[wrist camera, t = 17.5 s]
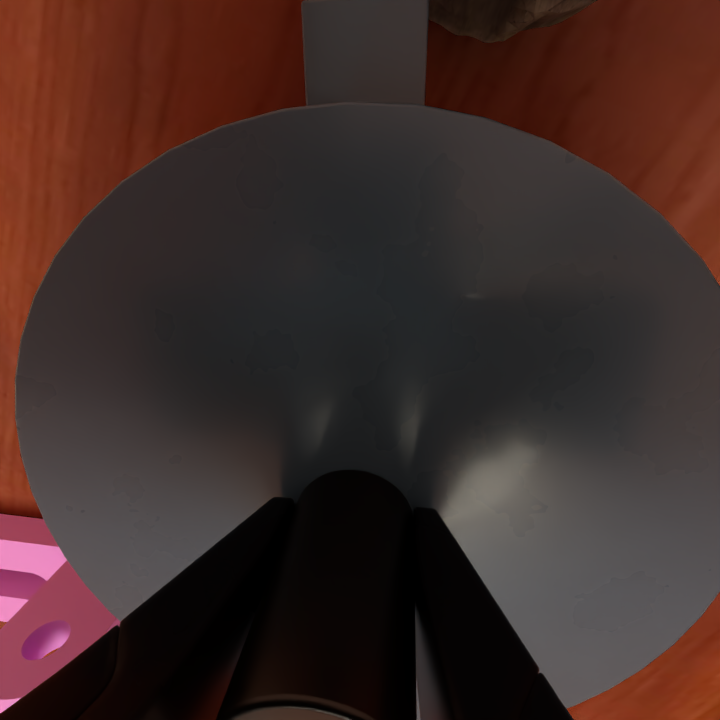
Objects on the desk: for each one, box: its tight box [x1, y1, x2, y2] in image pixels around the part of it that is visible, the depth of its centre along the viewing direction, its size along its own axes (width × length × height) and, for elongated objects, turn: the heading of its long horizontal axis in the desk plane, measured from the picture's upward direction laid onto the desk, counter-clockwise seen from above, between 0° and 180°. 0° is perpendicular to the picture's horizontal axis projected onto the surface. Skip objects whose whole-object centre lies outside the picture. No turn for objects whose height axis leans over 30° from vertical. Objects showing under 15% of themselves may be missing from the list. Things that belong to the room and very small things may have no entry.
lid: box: [15, 101, 720, 720], centre depth 7 cm, size 15×15×5 cm
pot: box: [301, 0, 429, 106], centre depth 13 cm, size 14×19×5 cm
